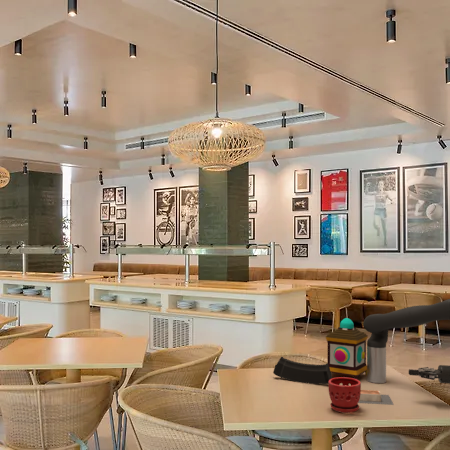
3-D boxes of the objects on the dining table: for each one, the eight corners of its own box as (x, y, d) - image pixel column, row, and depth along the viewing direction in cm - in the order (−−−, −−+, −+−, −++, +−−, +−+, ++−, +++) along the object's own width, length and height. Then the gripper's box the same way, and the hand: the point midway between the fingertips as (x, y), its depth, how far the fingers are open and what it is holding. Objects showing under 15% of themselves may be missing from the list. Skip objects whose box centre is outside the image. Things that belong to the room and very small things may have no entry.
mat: (338, 393, 249) (338, 392, 249) (388, 396, 246) (388, 394, 246) (340, 403, 234) (340, 402, 234) (393, 406, 231) (393, 404, 231)
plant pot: (324, 405, 231) (324, 376, 232) (355, 405, 232) (355, 376, 232) (333, 415, 218) (333, 385, 219) (365, 414, 219) (365, 384, 219)
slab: (379, 397, 241) (337, 395, 244) (379, 390, 241) (337, 388, 244) (381, 401, 235) (338, 399, 238) (381, 394, 235) (338, 392, 238)
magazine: (338, 367, 263) (283, 343, 277) (336, 368, 260) (280, 344, 274) (328, 400, 265) (274, 374, 279) (326, 401, 262) (271, 375, 276)
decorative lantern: (358, 383, 267) (358, 322, 268) (320, 377, 278) (321, 318, 279) (372, 375, 284) (372, 317, 285) (336, 370, 295) (336, 314, 296)
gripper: (447, 362, 241) (406, 360, 243) (455, 369, 228) (411, 367, 230) (446, 379, 241) (405, 376, 243) (454, 387, 228) (411, 385, 230)
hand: (408, 372), depth 237 cm, fingers closed
